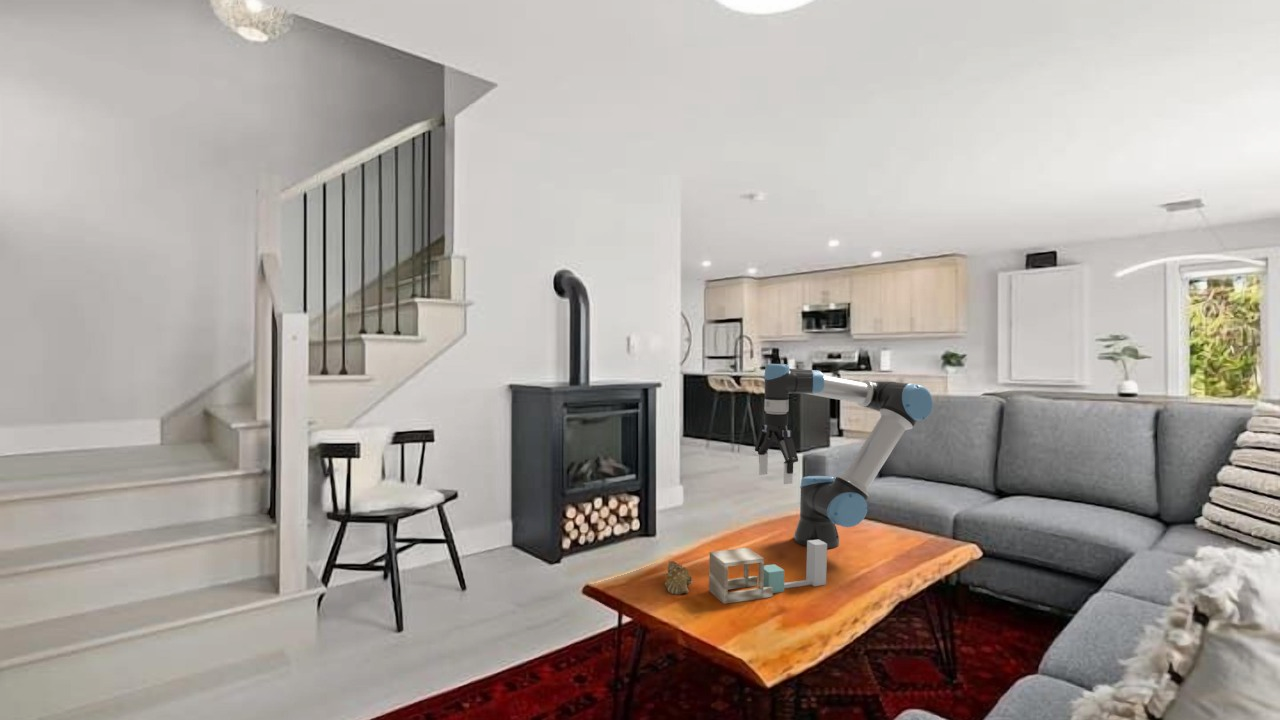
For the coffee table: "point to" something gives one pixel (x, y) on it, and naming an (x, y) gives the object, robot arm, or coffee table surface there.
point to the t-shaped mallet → (813, 570)
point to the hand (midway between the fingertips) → (775, 478)
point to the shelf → (722, 583)
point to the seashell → (677, 579)
